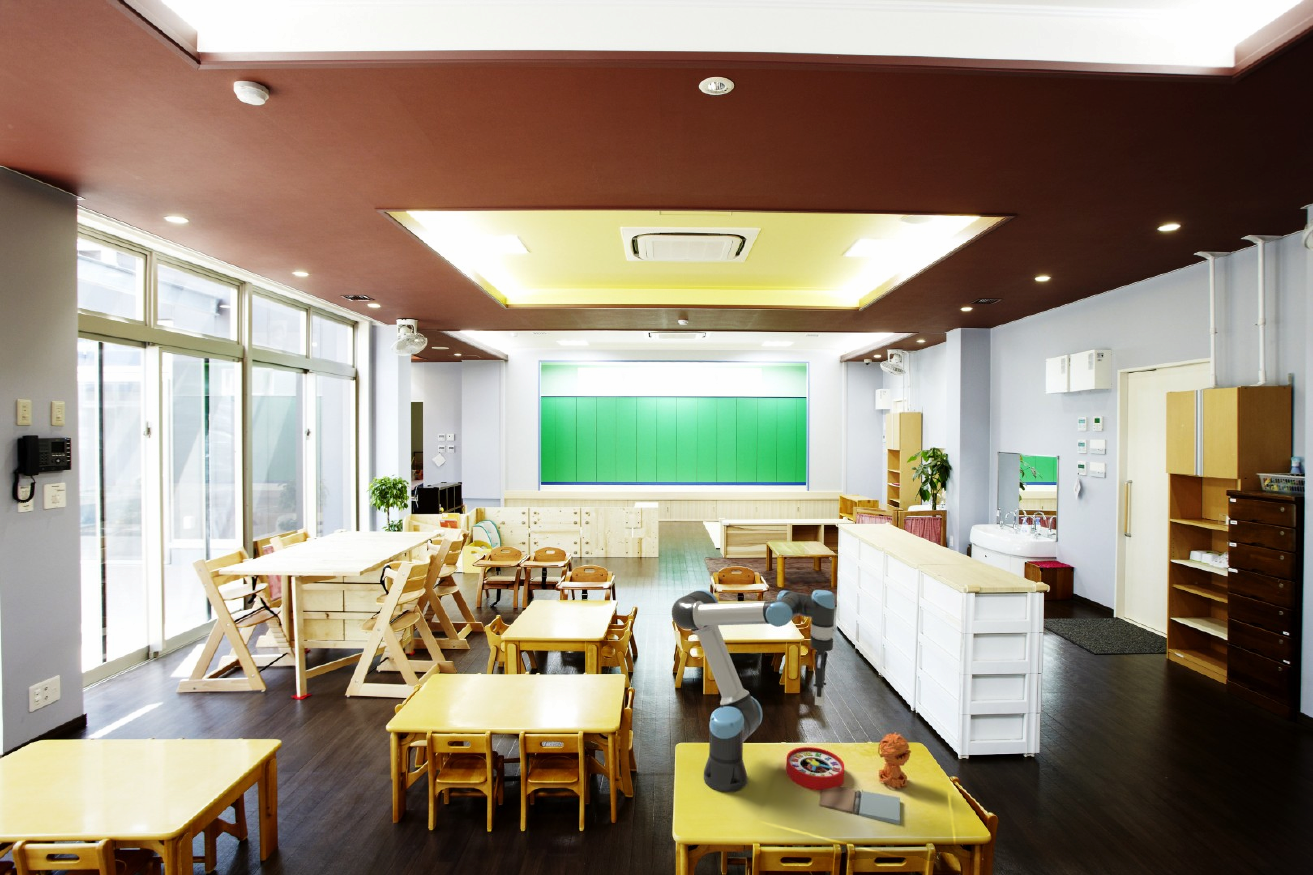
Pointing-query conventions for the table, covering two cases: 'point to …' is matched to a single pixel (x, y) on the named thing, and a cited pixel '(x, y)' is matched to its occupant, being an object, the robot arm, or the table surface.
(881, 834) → the table surface
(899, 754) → the orange figurine
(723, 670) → the robot arm
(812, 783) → the toy clock
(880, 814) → the hinge leaf
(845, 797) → the hinge base
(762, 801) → the table surface
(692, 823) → the table surface
